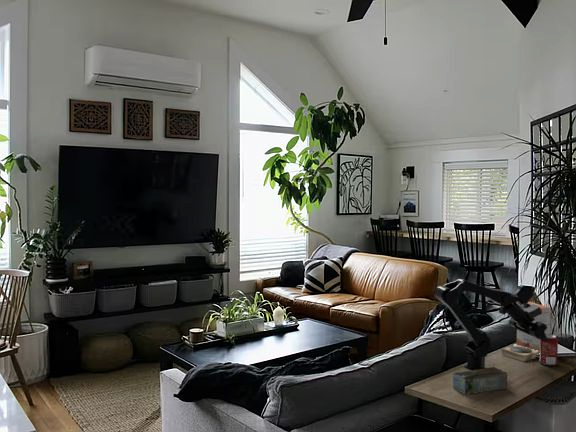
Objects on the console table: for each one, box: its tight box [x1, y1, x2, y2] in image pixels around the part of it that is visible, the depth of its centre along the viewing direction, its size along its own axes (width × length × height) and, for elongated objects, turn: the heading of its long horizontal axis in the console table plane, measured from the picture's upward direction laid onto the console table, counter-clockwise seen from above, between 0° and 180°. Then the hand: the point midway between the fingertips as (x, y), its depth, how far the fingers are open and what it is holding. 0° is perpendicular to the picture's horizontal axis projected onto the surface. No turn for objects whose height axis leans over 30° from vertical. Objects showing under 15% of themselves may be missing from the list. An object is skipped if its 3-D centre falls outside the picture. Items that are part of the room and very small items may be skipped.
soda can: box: [538, 333, 559, 367], centre depth 235 cm, size 7×7×12 cm
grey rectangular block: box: [452, 366, 508, 395], centre depth 209 cm, size 8×19×7 cm, turn 109°
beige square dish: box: [501, 344, 540, 362], centre depth 246 cm, size 11×11×3 cm
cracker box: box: [516, 301, 552, 351], centre depth 254 cm, size 14×6×21 cm, turn 23°
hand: (539, 338), depth 234 cm, fingers open, 9 cm apart
